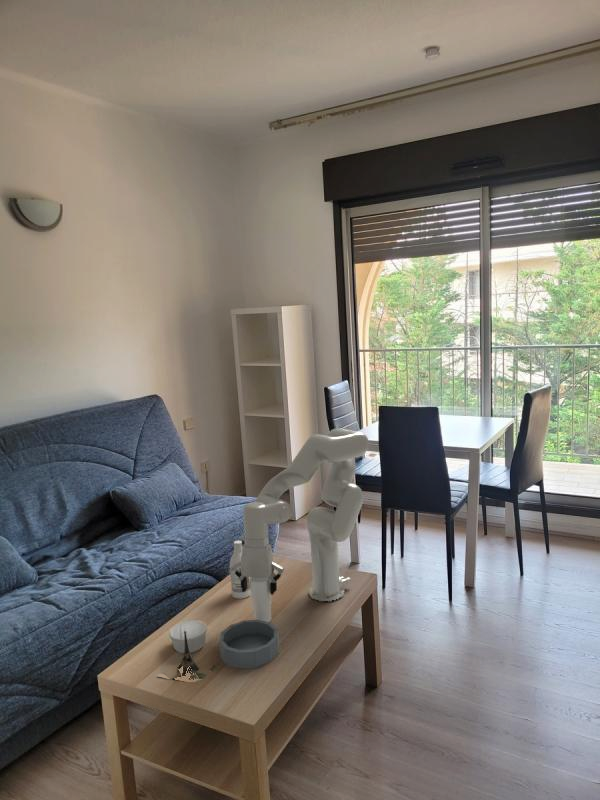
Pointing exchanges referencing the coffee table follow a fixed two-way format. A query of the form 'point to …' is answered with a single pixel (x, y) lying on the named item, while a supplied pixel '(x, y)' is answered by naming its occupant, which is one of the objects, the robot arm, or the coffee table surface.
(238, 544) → the bath foam
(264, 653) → the bowl
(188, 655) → the eiffel tower figurine
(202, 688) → the coffee table surface
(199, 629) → the ramekin
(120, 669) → the coffee table surface
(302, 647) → the coffee table surface
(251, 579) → the drinking glass
